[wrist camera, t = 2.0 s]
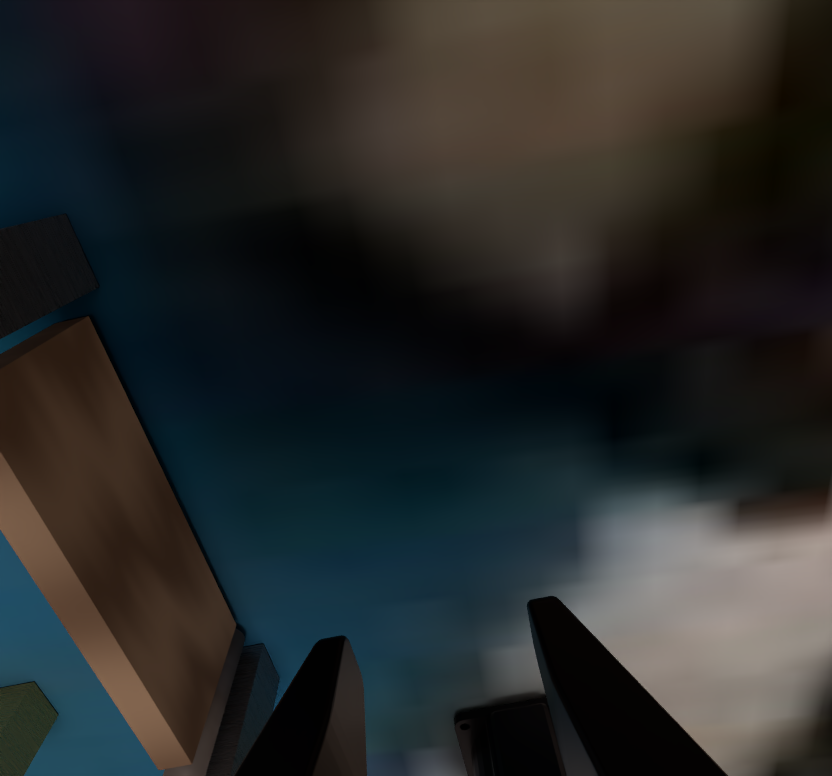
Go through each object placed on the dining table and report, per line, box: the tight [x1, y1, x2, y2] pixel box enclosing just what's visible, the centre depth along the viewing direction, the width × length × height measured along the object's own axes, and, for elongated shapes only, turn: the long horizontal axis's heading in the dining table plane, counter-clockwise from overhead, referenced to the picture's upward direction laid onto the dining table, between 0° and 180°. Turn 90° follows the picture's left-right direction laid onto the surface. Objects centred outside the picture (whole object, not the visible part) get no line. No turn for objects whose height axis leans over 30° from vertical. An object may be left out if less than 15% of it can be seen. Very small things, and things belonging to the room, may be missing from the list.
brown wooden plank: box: [0, 316, 245, 776], centre depth 19 cm, size 16×2×6 cm, turn 12°
